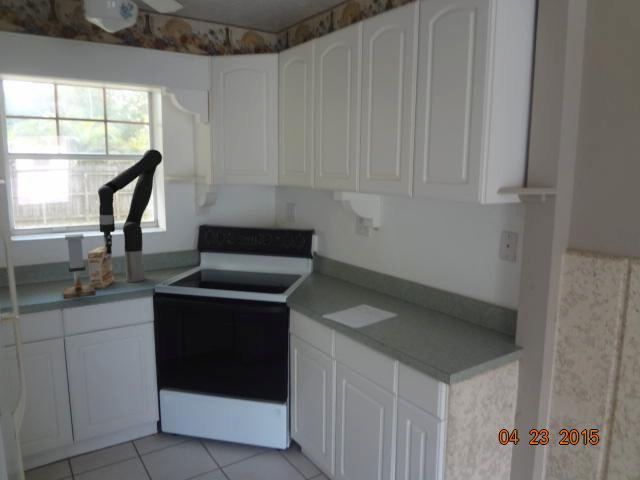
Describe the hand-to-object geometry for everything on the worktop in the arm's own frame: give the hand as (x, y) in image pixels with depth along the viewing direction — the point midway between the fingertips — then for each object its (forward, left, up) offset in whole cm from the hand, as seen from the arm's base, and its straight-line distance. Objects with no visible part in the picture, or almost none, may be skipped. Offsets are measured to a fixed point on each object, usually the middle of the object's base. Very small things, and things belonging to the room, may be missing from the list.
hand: (108, 252), depth 254 cm
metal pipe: (+16, +15, -15) cm, 27 cm away
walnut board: (+16, +15, -17) cm, 28 cm away
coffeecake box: (+4, +2, -17) cm, 18 cm away
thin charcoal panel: (+16, +15, -5) cm, 23 cm away
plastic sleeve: (+16, +15, -3) cm, 22 cm away
